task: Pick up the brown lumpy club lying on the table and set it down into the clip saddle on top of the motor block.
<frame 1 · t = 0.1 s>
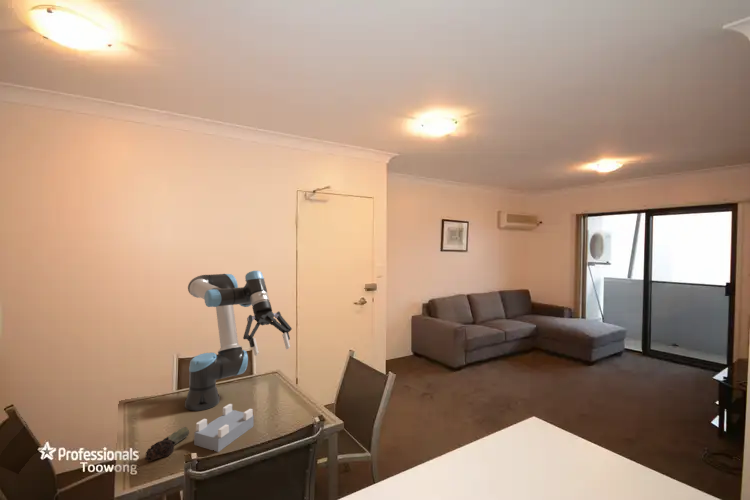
hand: (273, 351, 143), 36 cm above the table, tool tilted 35°, fingers open, 13 cm apart
brown lumpy club: (168, 450, 135), on the table
motor block: (225, 435, 146), on the table
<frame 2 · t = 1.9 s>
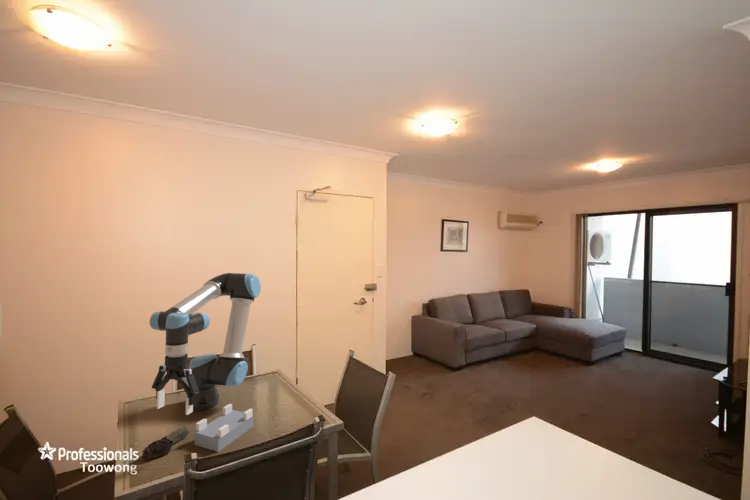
hand: (174, 410, 134), 15 cm above the table, tool pointing down, fingers open, 13 cm apart
brown lumpy club: (166, 449, 135), on the table
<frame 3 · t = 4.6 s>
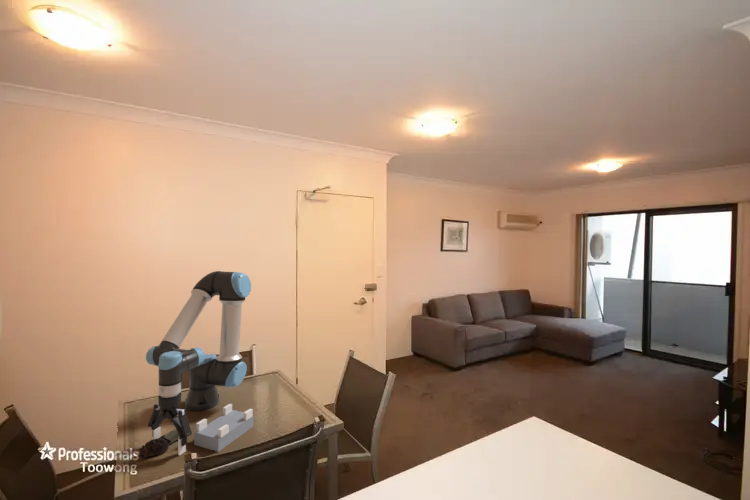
hand: (169, 449, 135), 0 cm above the table, tool pointing down, fingers open, 12 cm apart
brown lumpy club: (164, 448, 136), on the table
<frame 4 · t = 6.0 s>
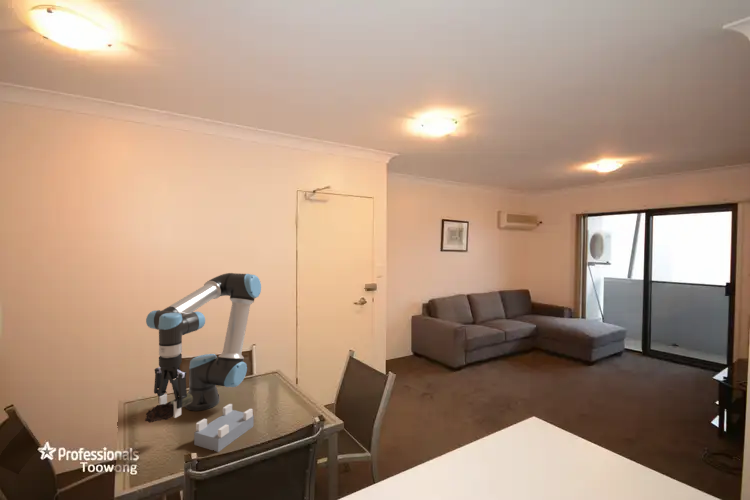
hand: (170, 413, 134), 14 cm above the table, tool pointing down, fingers closed on brown lumpy club, 7 cm apart
brown lumpy club: (171, 414, 135), point 13 cm above the table, touching gripper
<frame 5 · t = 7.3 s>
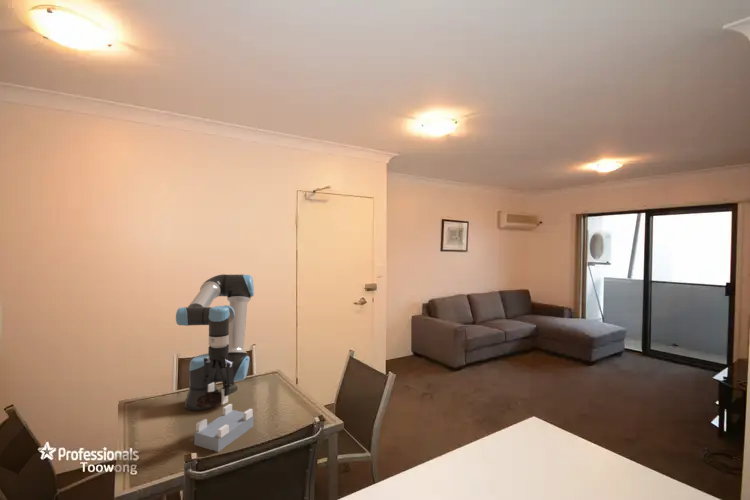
hand: (217, 401, 143), 15 cm above the table, tool pointing down, fingers closed on brown lumpy club, 7 cm apart
brown lumpy club: (218, 401, 144), point 14 cm above the table, touching gripper
when the fingers open (5 cm above the table, at t = 9.7 s): brown lumpy club stays where it is, resting on motor block.
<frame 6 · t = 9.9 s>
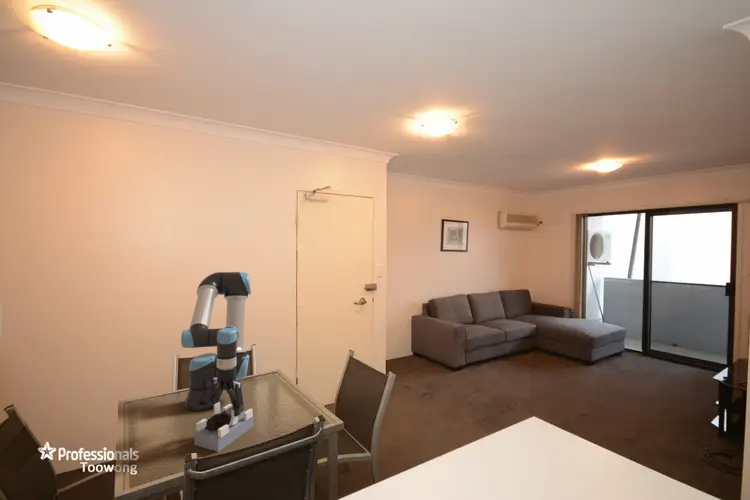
hand: (225, 421, 145), 6 cm above the table, tool pointing down, fingers open, 8 cm apart
brown lumpy club: (225, 423, 146), point 5 cm above the table, touching motor block
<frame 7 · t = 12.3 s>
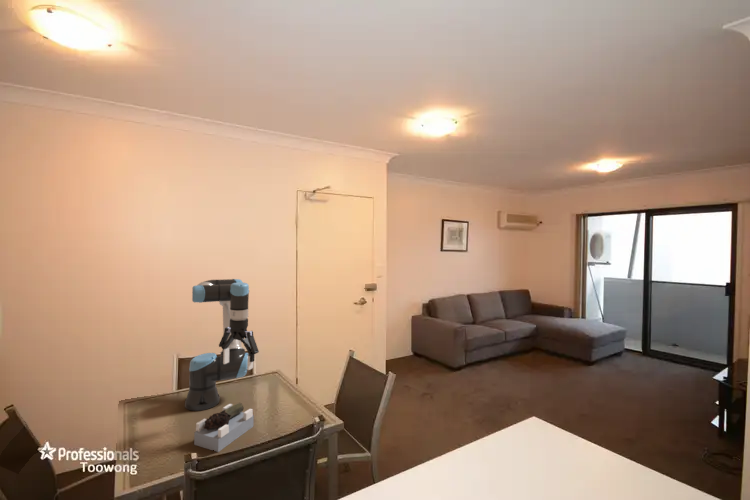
hand: (238, 366, 155), 25 cm above the table, tool pointing down, fingers open, 13 cm apart
nothing on the table moved.
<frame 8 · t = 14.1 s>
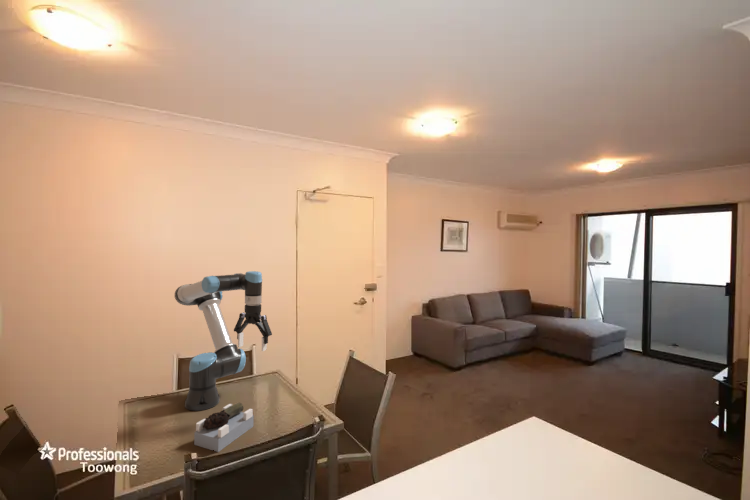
hand: (252, 348, 168), 29 cm above the table, tool pointing down, fingers open, 13 cm apart
nothing on the table moved.
at the end: brown lumpy club inside the target area on the motor block (1.4 cm from its centre), point 4.8 cm above the motor block's base; the gripper is holding nothing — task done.
